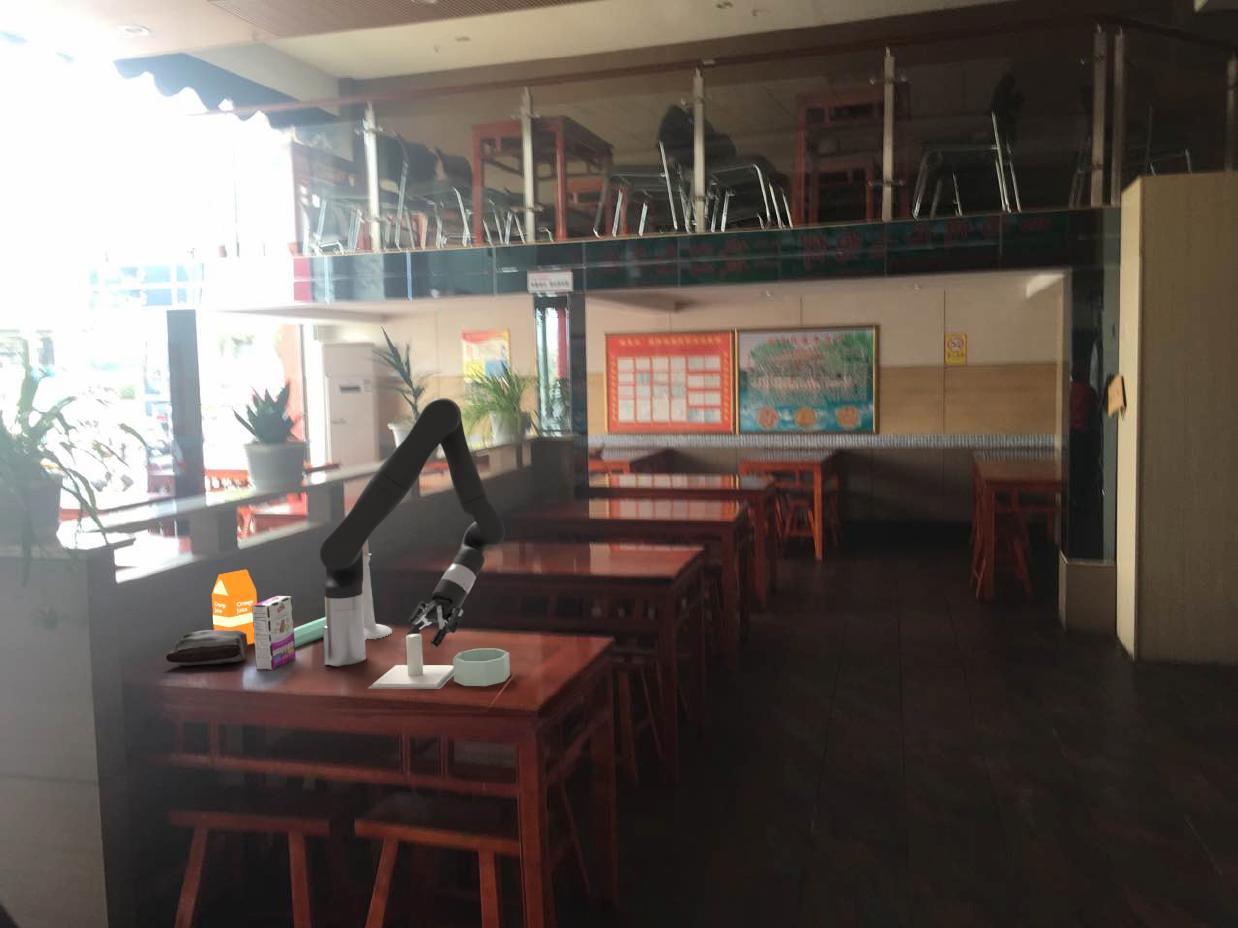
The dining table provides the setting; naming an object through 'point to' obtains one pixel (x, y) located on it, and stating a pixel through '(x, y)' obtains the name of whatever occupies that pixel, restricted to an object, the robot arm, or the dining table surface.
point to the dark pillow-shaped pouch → (209, 647)
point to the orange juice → (234, 603)
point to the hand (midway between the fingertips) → (421, 643)
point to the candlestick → (370, 602)
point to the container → (309, 632)
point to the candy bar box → (273, 632)
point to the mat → (415, 687)
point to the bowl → (481, 667)
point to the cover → (414, 669)
